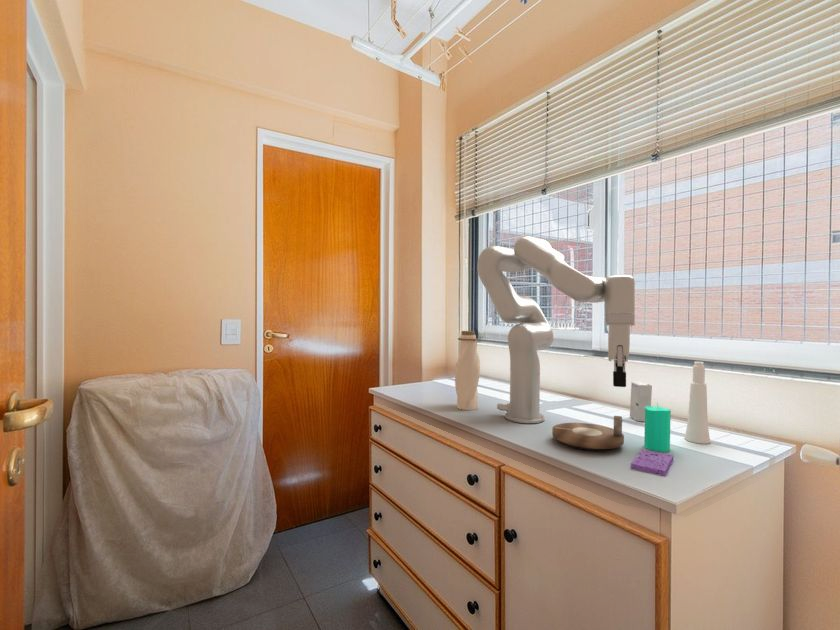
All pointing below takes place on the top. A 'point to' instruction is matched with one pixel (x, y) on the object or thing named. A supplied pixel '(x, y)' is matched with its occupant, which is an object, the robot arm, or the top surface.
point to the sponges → (652, 462)
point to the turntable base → (587, 448)
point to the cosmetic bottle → (698, 408)
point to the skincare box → (640, 399)
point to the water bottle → (467, 372)
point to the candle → (657, 428)
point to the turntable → (590, 434)
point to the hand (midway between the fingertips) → (619, 386)
